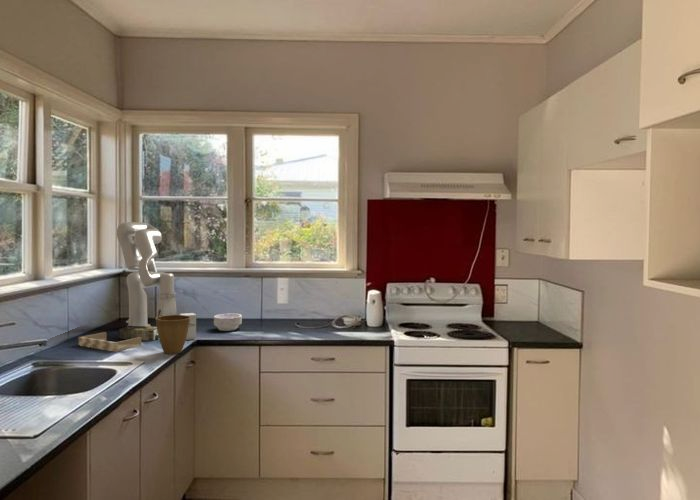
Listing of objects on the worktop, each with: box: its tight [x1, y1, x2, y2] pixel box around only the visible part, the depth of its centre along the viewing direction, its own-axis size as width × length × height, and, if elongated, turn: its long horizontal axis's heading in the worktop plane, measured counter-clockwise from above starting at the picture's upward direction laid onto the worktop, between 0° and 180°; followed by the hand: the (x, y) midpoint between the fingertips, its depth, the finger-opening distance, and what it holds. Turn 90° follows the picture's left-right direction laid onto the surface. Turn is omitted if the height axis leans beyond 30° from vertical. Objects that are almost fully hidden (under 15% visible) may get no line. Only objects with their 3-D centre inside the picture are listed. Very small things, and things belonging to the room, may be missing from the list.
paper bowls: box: [213, 312, 243, 332], centre depth 283 cm, size 15×15×8 cm
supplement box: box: [178, 312, 197, 341], centre depth 259 cm, size 7×7×13 cm
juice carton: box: [118, 325, 159, 342], centre depth 260 cm, size 20×10×6 cm, turn 84°
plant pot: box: [155, 314, 190, 355], centre depth 230 cm, size 15×15×16 cm
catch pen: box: [77, 331, 142, 353], centre depth 243 cm, size 26×14×4 cm, turn 62°
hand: (167, 330), depth 274 cm, fingers closed
